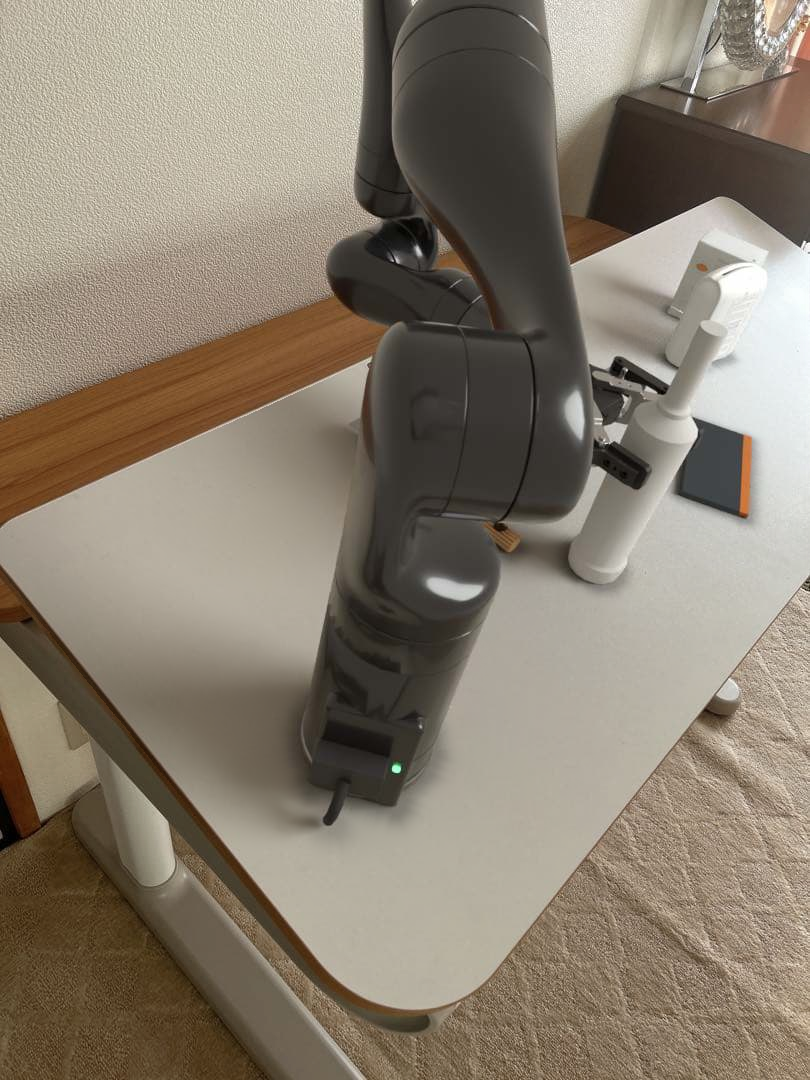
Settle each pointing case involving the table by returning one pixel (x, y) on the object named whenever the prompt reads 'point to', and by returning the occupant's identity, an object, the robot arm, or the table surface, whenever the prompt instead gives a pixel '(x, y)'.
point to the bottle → (660, 442)
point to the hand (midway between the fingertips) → (673, 460)
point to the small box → (713, 262)
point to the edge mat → (719, 470)
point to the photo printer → (719, 307)
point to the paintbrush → (502, 538)
